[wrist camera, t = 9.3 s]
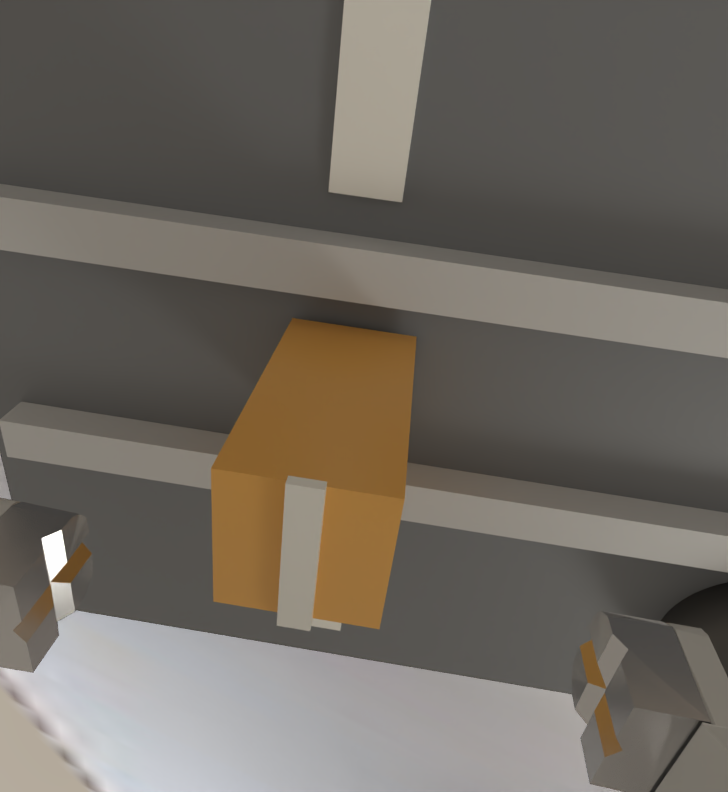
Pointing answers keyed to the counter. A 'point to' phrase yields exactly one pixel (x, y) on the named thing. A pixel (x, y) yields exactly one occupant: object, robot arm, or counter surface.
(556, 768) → the counter surface
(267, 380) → the fader knob
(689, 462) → the console board
